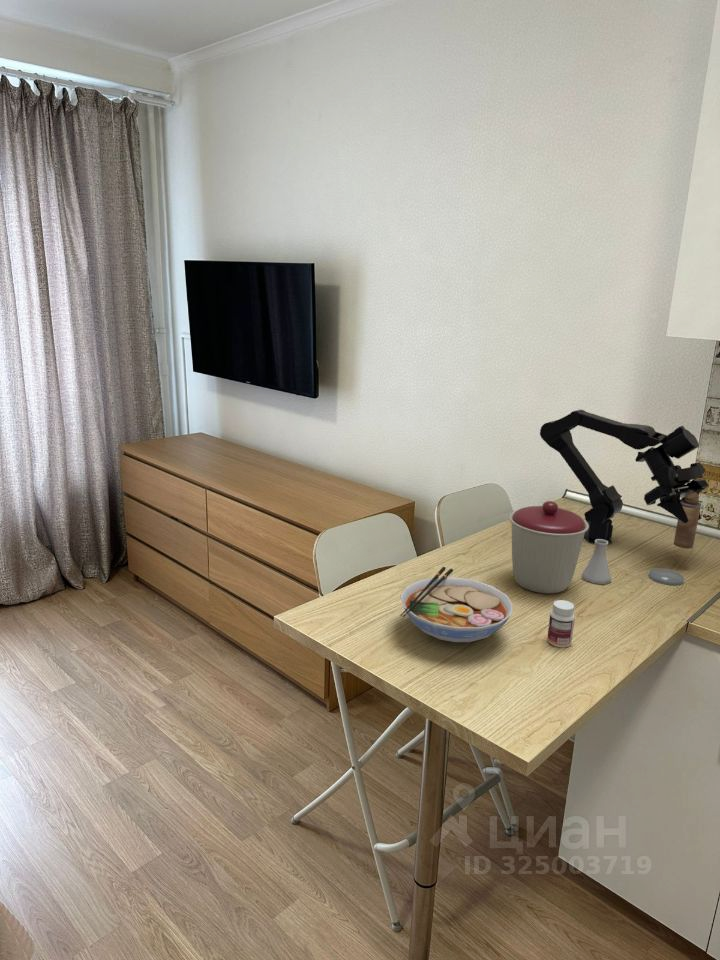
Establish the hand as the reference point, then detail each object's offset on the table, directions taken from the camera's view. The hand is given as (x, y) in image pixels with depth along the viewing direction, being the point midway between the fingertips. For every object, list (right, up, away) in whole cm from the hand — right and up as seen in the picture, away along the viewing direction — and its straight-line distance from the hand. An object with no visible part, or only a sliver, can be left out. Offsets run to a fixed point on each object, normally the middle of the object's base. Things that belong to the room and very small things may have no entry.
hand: (693, 521), depth 168 cm
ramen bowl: (-65, -21, -31) cm, 75 cm away
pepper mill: (-1, -6, +3) cm, 7 cm away
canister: (-41, -15, -8) cm, 44 cm away
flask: (-26, -14, -3) cm, 30 cm away
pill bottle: (-44, -23, -34) cm, 60 cm away
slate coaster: (-8, -14, -2) cm, 16 cm away
